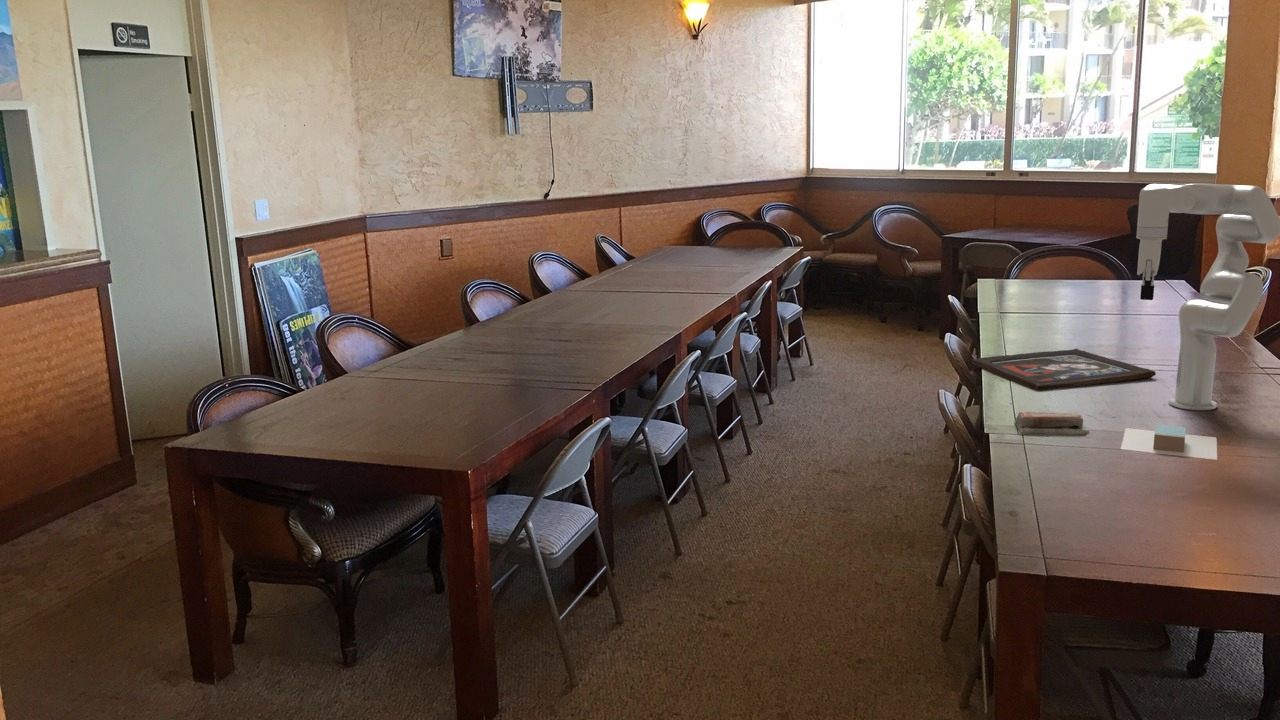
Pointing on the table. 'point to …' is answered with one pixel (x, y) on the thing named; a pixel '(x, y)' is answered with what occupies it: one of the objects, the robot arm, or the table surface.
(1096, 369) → the religious icon
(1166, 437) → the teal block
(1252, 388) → the table surface
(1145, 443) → the board
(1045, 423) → the packaged product
